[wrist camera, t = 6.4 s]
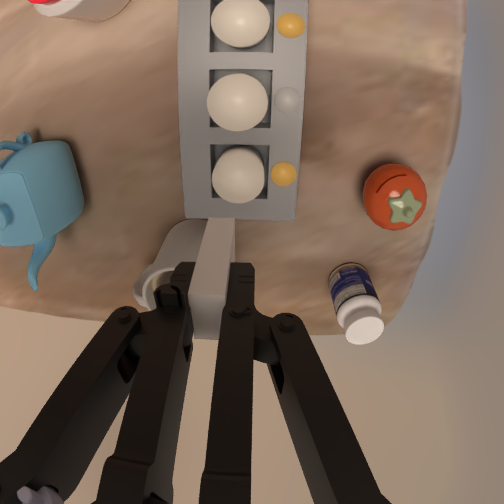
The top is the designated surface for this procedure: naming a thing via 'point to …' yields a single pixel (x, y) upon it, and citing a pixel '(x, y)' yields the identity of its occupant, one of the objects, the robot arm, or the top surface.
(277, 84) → the console
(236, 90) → the button middle
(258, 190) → the button
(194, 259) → the mug
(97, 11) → the pill bottle
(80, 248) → the top surface
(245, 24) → the button
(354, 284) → the pill bottle
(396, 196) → the tomato
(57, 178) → the teapot
